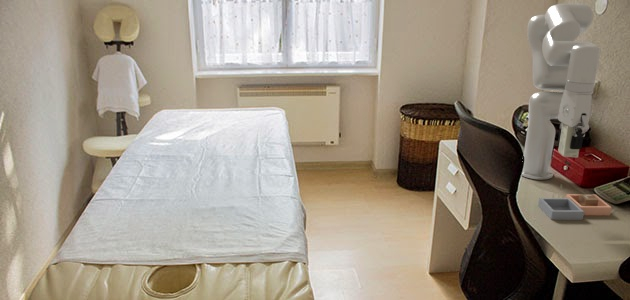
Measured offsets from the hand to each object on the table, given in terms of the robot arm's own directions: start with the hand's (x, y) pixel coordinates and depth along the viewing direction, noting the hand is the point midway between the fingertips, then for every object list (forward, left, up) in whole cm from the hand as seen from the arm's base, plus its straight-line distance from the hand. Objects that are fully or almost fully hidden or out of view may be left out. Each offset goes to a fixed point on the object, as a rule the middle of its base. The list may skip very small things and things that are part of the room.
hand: (569, 144), depth 152 cm
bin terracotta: (0, +9, -22) cm, 24 cm away
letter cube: (0, +9, -22) cm, 23 cm away
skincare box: (0, 0, -3) cm, 3 cm away
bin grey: (+3, -1, -22) cm, 23 cm away
